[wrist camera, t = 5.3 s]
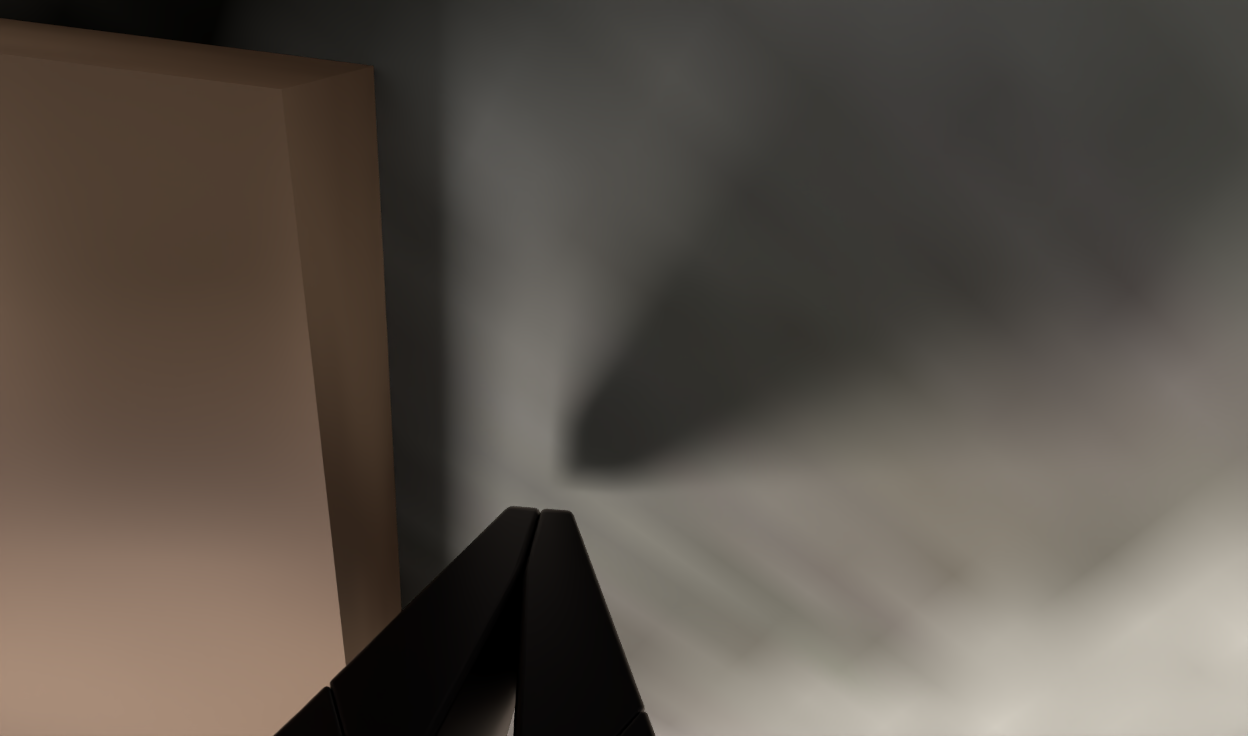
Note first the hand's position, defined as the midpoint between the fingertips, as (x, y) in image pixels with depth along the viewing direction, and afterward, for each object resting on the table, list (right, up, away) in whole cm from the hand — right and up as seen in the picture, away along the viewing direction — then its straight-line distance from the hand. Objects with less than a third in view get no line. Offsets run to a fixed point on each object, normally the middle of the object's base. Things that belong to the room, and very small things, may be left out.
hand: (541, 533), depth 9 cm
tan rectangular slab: (-6, +2, +1) cm, 6 cm away
